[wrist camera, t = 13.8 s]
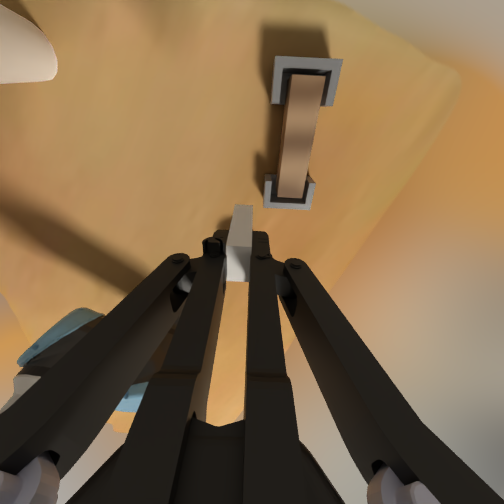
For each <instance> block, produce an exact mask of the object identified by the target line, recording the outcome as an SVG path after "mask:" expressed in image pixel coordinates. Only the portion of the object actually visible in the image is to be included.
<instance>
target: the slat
mask: <svg viewBox="0 0 504 504" xmlns="http://www.w3.org/2000/svg"><path fill="white" fill-rule="evenodd" d="M325 78H326V76H310V75H293V74H292V75H291V77H290V78H289V79H288V80H287V89H286V98H285V106H284V115H283V124H282V133H281V142H280V150H279V159H278V168H277V177H276V186H275V188H276V193H277V197H287V198H302V196H303V191H304V185H305V180H306V175H307V170H308V165H309V160H310V155H311V150H312V144H313V139H314V134H315V129H316V124H317V119H318V114H319V109H320V103H321V98H322V93H323V88H324V83H325Z"/></svg>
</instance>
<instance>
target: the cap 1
mask: <svg viewBox="0 0 504 504" xmlns="http://www.w3.org/2000/svg"><path fill="white" fill-rule="evenodd" d="M342 61H343V59H329V58H309V57H289V56H275V59H274V62H273V73H272V86H271V100H270V104H279V105H285V98H286V89H287V80H288V79H289V78H290V77H291V75H292V74H293V75H310V76H326V78H325V83H324V88H323V93H322V98H321V103H320V107H327V106H333V102H334V98H335V93H336V89H337V84H338V80H339V75H340V71H341V66H342Z"/></svg>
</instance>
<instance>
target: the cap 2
mask: <svg viewBox="0 0 504 504" xmlns="http://www.w3.org/2000/svg"><path fill="white" fill-rule="evenodd" d="M276 177H277V174H265V180H264V193H263V207H264V208H281V209H301V210H310V207H311V203H312V198H313V194H314V189H315V185H316V183H315V182H314V181H313V179H312V178H311V177H310V176H306V180H305V185H304V191H303V196H302V198H287V197H277V193H276V188H275V186H276Z"/></svg>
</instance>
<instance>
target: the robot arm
mask: <svg viewBox="0 0 504 504" xmlns="http://www.w3.org/2000/svg"><path fill="white" fill-rule="evenodd" d="M252 214H253V205H236V204H235V207H234V212H233V216H232V221H231V225H230V230H217V231H216V232H214V234H213V237H209V238H206V239H204V240H203V241H202V244H203V256H202V257H199V258H194V259H190V257H189V256H188V255H187V254H184V253H177V254H173V255H171V256H169V257H168V258H167V259H165V260H164V261H163V262H162V263H161V264H160V265H159V266H158V267H157V268H156V269H155V270H154V271H153V272H152V273H151V274H150V275H149V276H148V277H146V278H145V279H144V280H143V281H142V282H141V283H140V284H139V285H138V286H137V287H136V288H135V289H134V290H133V291H132V292H131V293H130V294H128V295H127V296H126V297H125V298H124V299H123V300H122V301H121V302H120V303H119V304H118V305H117V306H116V307H115V308H114V309H113V310H112V311H111V312H109V313H108V314H107V315H106V316H105V314H103V313H101V314H100V313H98V312H95V311H93V310H91V309H88V308H78V309H75V310H73V311H72V312H70V313H69V314H68V315H66V316H65V317H64V318H62V319H61V320H60V321H59V322H57V323H56V324H55V325H54V326H53V327H51V328H50V329H49V330H48V331H47V332H46V333H45V334H43V335H42V336H41V337H40V338H39V339H38V340H37V341H36V342H35V343H34V344H33V345H32V346H31V347H30V348H28V349H27V350H26V351H25V352H24V353H23V354H22V355H21V356H20V357H19V359H18V360H17V364H19V366H20V367H23V369H22V370H21V371H20V372H19V373H18V374H17V375H16V377H14V379H13V381H14V393H13V396H12V397H11V398H10V399H9V400H8V402H7V403H6V404H5V405H4V406H3V407H2V408H1V410H0V504H56V502H57V498H58V494H57V492H58V489H59V483H60V480H61V479H62V478H63V477H64V476H65V474H66V473H67V472H68V471H69V470H70V469H71V468H72V467H73V466H74V464H75V463H76V462H77V461H78V460H79V458H80V457H81V456H82V455H83V454H84V452H85V451H86V450H87V449H88V447H89V446H90V444H91V443H92V442H93V440H94V439H95V438H96V436H97V435H98V433H99V432H100V431H101V429H102V428H103V426H104V425H105V423H106V422H107V421H108V419H109V418H110V416H111V415H112V413H113V412H114V410H116V411H123V412H136V415H135V417H134V420H133V423H132V425H131V428H130V430H129V433H128V435H127V438H126V440H125V443H124V444H123V445H122V446H120V448H118V449H117V450H116V451H115V452H114V454H113V455H112V456H111V457H110V458H109V459H108V460H107V461H106V462H105V463H104V464H103V465H102V466H101V467H100V468H99V469H98V470H97V471H96V472H95V473H94V475H92V476H91V477H90V478H89V479H88V481H87V482H86V483H85V484H84V485H83V486H82V487H81V488H80V489H79V490H78V491H77V492H76V493H75V494H74V495H73V496H72V497H71V498H70V499H69V500H68V501H67V502H66V503H65V504H345V503H344V501H343V500H342V498H341V497H340V495H339V494H338V492H337V491H336V489H335V488H334V486H333V485H332V483H331V482H330V480H329V479H328V478H327V476H326V475H325V473H324V472H323V470H322V469H321V467H320V466H319V464H318V463H317V461H316V460H315V458H314V457H313V455H312V454H311V453H310V451H309V450H308V449H307V448H306V447H305V445H304V444H302V442H301V441H300V440H299V435H298V429H297V421H296V414H295V406H294V398H293V391H292V385H291V381H290V378H289V377H288V376H287V373H286V366H285V358H284V349H283V341H282V333H281V324H280V316H279V308H278V299H277V295H279V299H280V301H281V303H282V305H283V308H284V310H285V312H286V314H287V317H288V319H289V321H290V323H291V326H292V328H293V330H294V332H295V334H296V337H297V339H298V341H299V343H300V345H301V348H302V350H303V352H304V354H305V357H306V359H307V361H308V363H309V366H310V368H311V370H312V372H313V374H314V376H315V379H316V381H317V383H318V386H319V388H320V390H321V392H322V394H323V397H324V399H325V401H326V403H327V406H328V408H329V410H330V412H331V414H332V417H333V419H334V421H335V423H336V426H337V428H338V430H339V432H340V434H341V437H342V439H343V441H344V443H345V445H346V447H347V449H348V451H349V453H350V455H351V457H352V459H353V461H354V462H355V464H356V466H357V467H358V469H359V471H360V473H361V474H362V476H363V478H364V479H365V481H366V482H367V484H368V489H367V502H368V504H504V500H503V499H502V498H501V497H500V496H499V495H498V494H497V493H495V492H494V491H493V490H492V489H491V488H490V487H489V486H488V485H487V484H486V483H485V482H484V481H483V480H482V479H481V478H480V477H479V476H478V475H477V474H476V473H475V472H474V471H473V470H471V468H469V467H468V466H467V465H466V464H465V463H464V462H463V461H462V460H461V459H460V458H459V457H458V456H457V455H456V454H455V453H454V452H453V451H452V450H451V449H450V448H449V447H448V446H446V445H445V444H444V443H443V442H442V441H441V440H440V439H439V438H438V437H437V436H436V435H435V434H434V433H433V432H432V431H431V430H430V429H428V427H427V426H426V425H424V424H423V423H422V421H421V420H420V419H419V417H418V416H417V415H416V413H415V412H414V411H413V409H412V408H411V406H410V405H409V404H408V402H407V401H406V400H405V398H404V397H403V395H402V394H401V393H400V392H399V390H398V389H397V387H396V386H395V385H394V383H393V382H392V381H391V379H390V378H389V376H388V375H387V373H386V372H385V371H384V370H383V368H382V367H381V365H380V364H379V363H378V361H377V360H376V359H375V357H374V356H373V354H372V353H371V352H370V350H369V349H368V347H367V346H366V345H365V343H364V342H363V341H362V339H361V338H360V337H359V335H358V334H357V332H356V331H355V330H354V329H353V327H352V326H351V324H350V323H349V322H348V320H347V319H346V317H345V316H344V315H343V313H342V312H341V311H340V309H339V308H338V306H337V305H336V304H335V302H334V301H333V300H332V298H331V297H330V295H329V294H328V293H327V291H326V290H325V289H324V287H323V286H322V285H321V283H320V282H319V280H318V279H317V278H316V276H315V275H314V274H313V272H312V271H311V269H310V268H309V267H308V265H307V264H306V263H305V262H304V261H302V260H300V259H297V258H290V259H287V260H286V261H285V263H283V262H279V261H277V260H275V259H273V258H272V255H271V254H270V247H269V238H268V234H267V233H266V232H262V231H252ZM226 278H227V281H241V282H249V292H248V320H247V346H246V371H245V397H244V419H243V420H241V421H238V422H234V423H231V424H227V425H224V426H220V427H216V426H213V425H211V424H208V423H206V410H207V400H208V394H209V388H210V382H211V376H212V370H213V364H214V357H215V351H216V345H217V339H218V333H219V327H220V321H221V315H222V309H223V303H224V297H225V290H226Z"/></svg>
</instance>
